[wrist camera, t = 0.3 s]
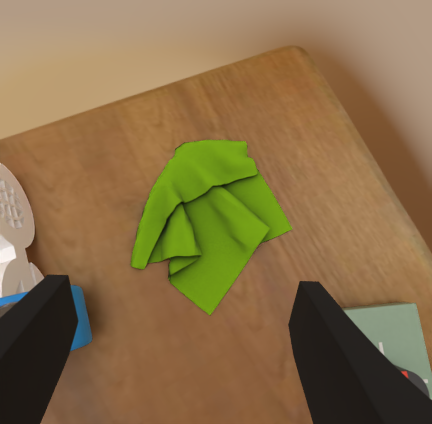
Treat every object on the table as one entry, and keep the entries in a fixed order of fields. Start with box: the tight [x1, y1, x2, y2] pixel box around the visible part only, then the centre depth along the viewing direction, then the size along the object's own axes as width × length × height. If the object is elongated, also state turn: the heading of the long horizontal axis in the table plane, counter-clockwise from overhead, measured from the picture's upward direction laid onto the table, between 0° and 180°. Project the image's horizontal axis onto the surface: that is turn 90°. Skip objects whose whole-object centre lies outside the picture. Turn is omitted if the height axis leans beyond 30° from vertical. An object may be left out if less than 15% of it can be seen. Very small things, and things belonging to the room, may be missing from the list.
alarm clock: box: [0, 285, 92, 351], centre depth 31 cm, size 13×6×15 cm, turn 107°
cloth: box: [131, 140, 292, 315], centre depth 41 cm, size 20×22×2 cm
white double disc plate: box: [0, 163, 44, 298], centre depth 36 cm, size 22×2×10 cm, turn 20°
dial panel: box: [342, 302, 432, 400], centre depth 37 cm, size 12×10×3 cm
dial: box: [393, 364, 430, 398], centre depth 33 cm, size 4×4×4 cm
